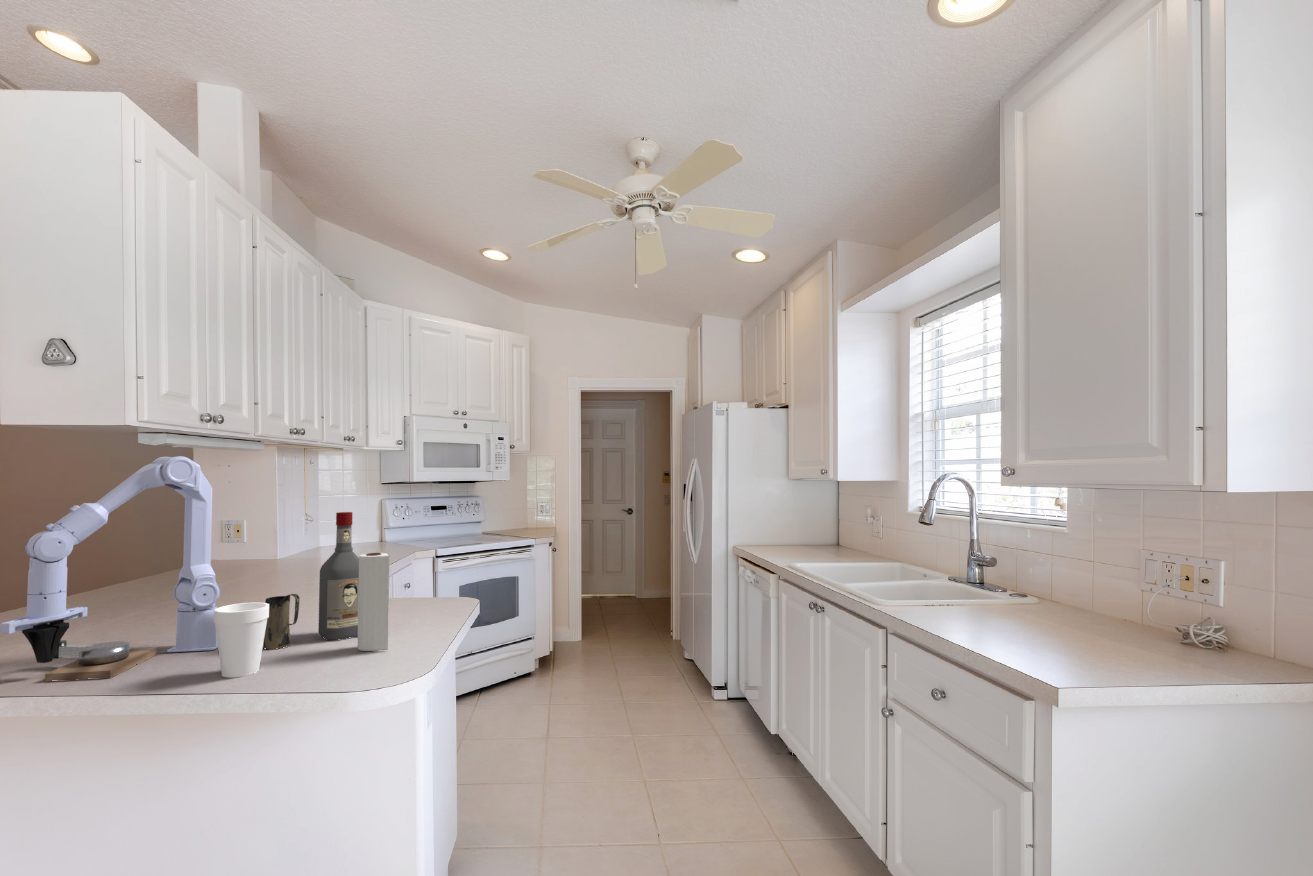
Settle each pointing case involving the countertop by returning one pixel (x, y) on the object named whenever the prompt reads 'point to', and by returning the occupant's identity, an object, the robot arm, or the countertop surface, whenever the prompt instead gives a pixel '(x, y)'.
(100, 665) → the wooden board
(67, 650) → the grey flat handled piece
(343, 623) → the liquor
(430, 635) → the countertop surface
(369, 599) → the paper towel roll
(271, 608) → the mug
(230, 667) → the foam cup
